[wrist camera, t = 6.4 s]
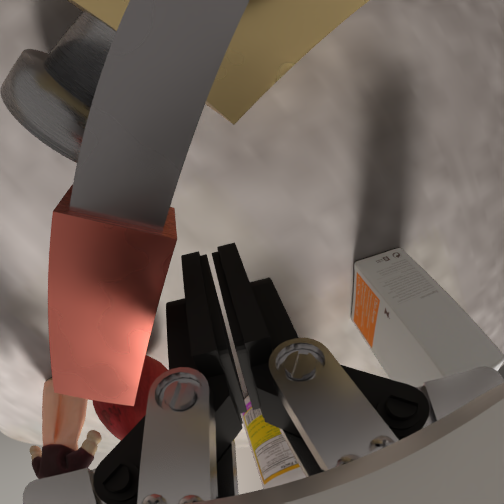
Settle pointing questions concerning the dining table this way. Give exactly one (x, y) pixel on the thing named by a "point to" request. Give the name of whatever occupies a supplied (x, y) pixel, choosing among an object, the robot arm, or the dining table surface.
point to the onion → (126, 416)
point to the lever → (129, 193)
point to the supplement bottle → (269, 450)
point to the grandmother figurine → (62, 435)
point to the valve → (99, 42)
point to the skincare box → (415, 322)
